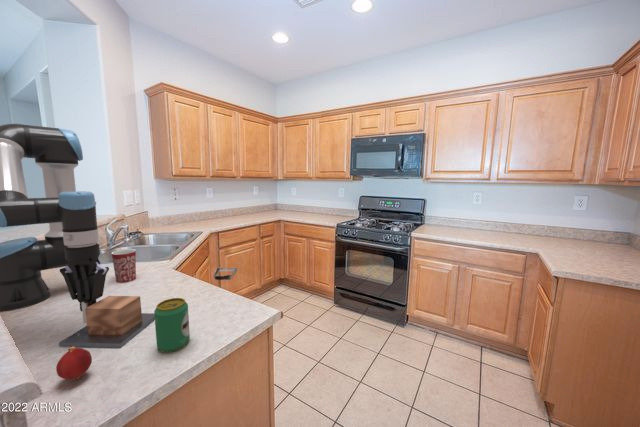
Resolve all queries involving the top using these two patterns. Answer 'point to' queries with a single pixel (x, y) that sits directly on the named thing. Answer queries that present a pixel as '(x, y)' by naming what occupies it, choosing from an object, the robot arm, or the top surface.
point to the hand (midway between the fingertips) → (89, 320)
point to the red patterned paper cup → (124, 265)
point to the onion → (74, 363)
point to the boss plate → (106, 336)
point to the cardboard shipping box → (113, 315)
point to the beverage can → (172, 324)
